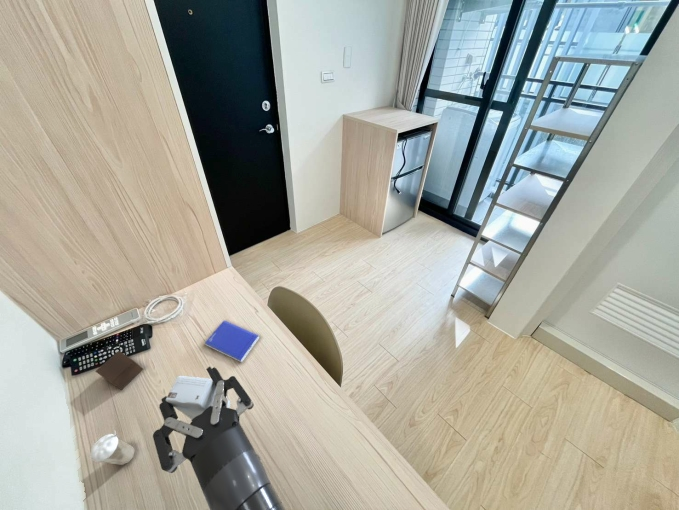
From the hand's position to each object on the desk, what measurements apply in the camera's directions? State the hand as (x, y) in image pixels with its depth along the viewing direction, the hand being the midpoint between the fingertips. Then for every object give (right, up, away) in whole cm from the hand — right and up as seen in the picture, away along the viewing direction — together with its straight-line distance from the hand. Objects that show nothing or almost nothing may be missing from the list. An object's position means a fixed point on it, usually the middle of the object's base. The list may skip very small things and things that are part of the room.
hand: (188, 383), depth 47 cm
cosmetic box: (+1, -9, +6) cm, 10 cm away
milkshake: (-20, -21, +12) cm, 31 cm away
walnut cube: (-30, -9, +24) cm, 39 cm away
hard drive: (-5, -3, +31) cm, 32 cm away
